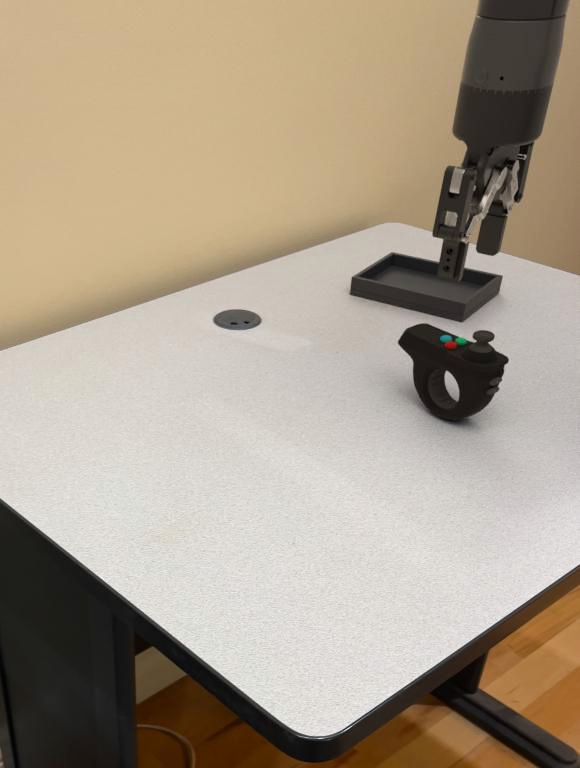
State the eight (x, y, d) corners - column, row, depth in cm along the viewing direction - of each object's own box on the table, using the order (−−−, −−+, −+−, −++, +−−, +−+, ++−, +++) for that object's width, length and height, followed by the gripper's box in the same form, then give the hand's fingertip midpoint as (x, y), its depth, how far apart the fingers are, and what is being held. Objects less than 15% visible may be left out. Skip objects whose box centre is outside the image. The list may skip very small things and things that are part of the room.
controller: (470, 440, 92) (491, 349, 85) (384, 395, 100) (397, 308, 94) (499, 427, 94) (521, 337, 87) (412, 384, 102) (427, 298, 95)
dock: (499, 293, 119) (503, 275, 118) (462, 322, 113) (465, 303, 112) (389, 268, 128) (391, 251, 126) (349, 294, 122) (351, 276, 120)
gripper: (516, 98, 70) (473, 299, 81) (583, 65, 78) (535, 252, 89) (428, 88, 74) (397, 281, 84) (499, 57, 82) (463, 237, 92)
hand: (468, 266), depth 86 cm, fingers open, 8 cm apart
